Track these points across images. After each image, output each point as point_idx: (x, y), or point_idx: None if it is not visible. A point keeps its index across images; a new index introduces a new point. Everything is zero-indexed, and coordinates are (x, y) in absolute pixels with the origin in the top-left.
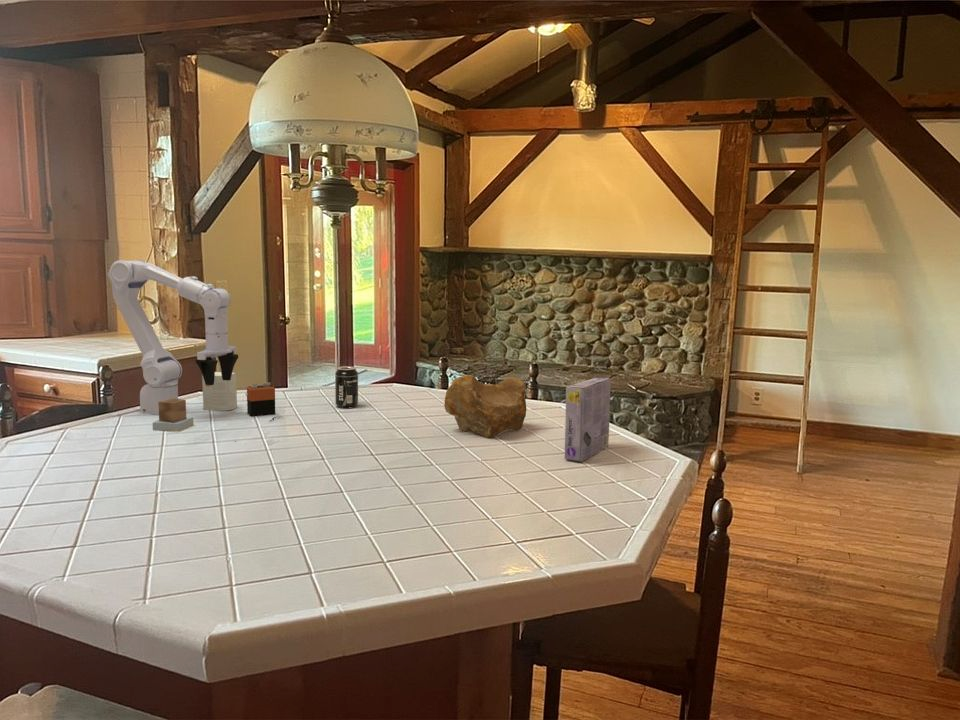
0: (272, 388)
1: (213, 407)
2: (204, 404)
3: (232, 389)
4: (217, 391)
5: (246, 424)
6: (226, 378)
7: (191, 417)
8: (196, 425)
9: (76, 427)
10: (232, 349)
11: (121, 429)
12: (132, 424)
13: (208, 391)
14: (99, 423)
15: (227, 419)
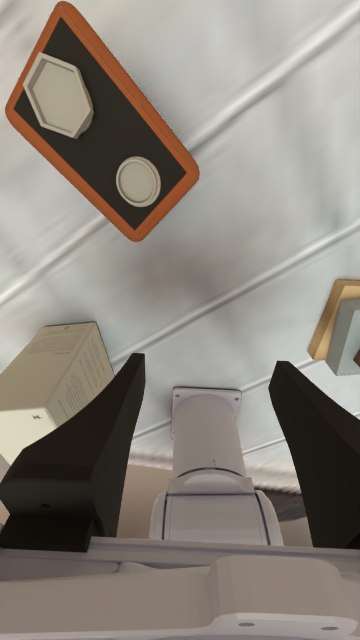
0: (82, 18)
1: (106, 363)
2: None
3: (42, 361)
4: (86, 387)
5: (241, 168)
6: (142, 372)
7: (357, 313)
8: (349, 287)
9: None
10: (22, 593)
11: None
12: None
13: None
14: (282, 460)
15: (190, 272)
